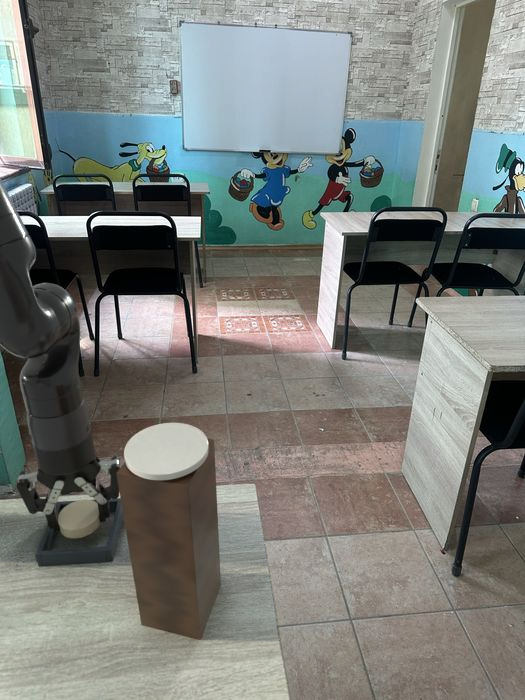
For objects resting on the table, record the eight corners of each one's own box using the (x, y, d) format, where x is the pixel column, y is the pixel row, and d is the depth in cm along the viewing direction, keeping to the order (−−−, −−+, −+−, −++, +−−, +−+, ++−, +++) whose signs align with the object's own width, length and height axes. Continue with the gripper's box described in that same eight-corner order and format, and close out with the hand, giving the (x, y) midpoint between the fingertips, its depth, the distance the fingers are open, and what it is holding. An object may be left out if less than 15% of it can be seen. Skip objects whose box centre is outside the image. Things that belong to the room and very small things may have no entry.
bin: (40, 572, 69) (35, 555, 67) (61, 518, 78) (56, 501, 77) (113, 567, 70) (110, 550, 68) (125, 514, 79) (123, 497, 78)
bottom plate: (109, 475, 50) (107, 466, 49) (148, 425, 57) (147, 417, 57) (191, 490, 48) (190, 481, 47) (219, 437, 55) (219, 428, 55)
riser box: (142, 631, 61) (116, 473, 50) (168, 578, 68) (150, 428, 57) (201, 646, 60) (188, 486, 48) (221, 590, 67) (214, 439, 55)
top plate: (51, 537, 71) (48, 525, 70) (75, 507, 76) (72, 496, 75) (88, 545, 69) (85, 533, 68) (109, 514, 75) (107, 503, 74)
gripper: (116, 409, 70) (128, 496, 77) (8, 423, 66) (32, 514, 74) (116, 439, 63) (130, 531, 71) (-3, 457, 60) (25, 552, 67)
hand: (80, 522), depth 72 cm, fingers closed on top plate, 6 cm apart
